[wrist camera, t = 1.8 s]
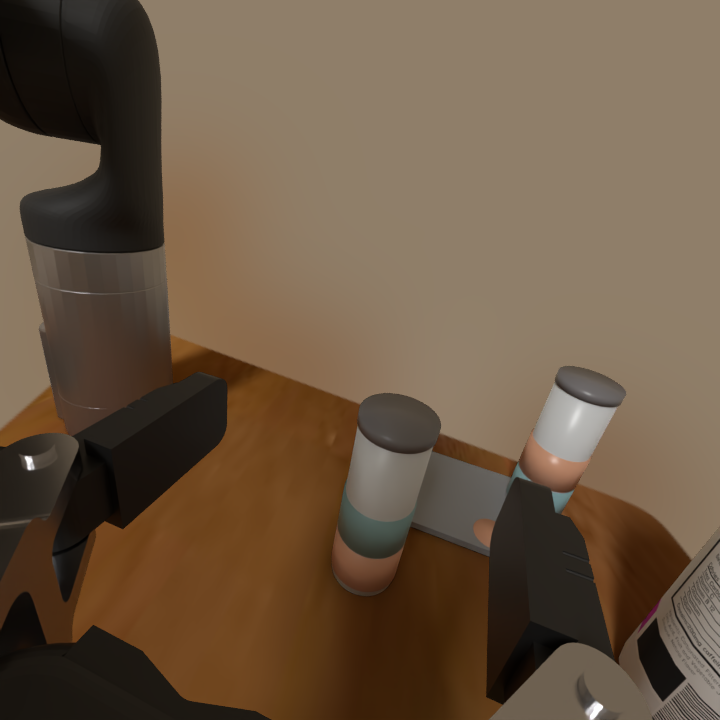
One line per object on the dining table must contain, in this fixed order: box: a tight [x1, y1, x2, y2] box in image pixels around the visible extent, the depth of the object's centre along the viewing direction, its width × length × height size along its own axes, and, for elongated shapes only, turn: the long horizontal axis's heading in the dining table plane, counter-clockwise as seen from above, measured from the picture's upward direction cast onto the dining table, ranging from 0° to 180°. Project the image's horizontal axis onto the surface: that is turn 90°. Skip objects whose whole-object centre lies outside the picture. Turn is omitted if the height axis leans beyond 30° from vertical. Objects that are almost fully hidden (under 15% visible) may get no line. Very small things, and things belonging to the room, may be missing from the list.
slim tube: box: [331, 393, 441, 596], centre depth 26 cm, size 5×5×13 cm
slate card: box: [410, 451, 511, 557], centre depth 35 cm, size 14×10×1 cm
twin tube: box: [505, 366, 626, 514], centre depth 33 cm, size 5×5×13 cm
